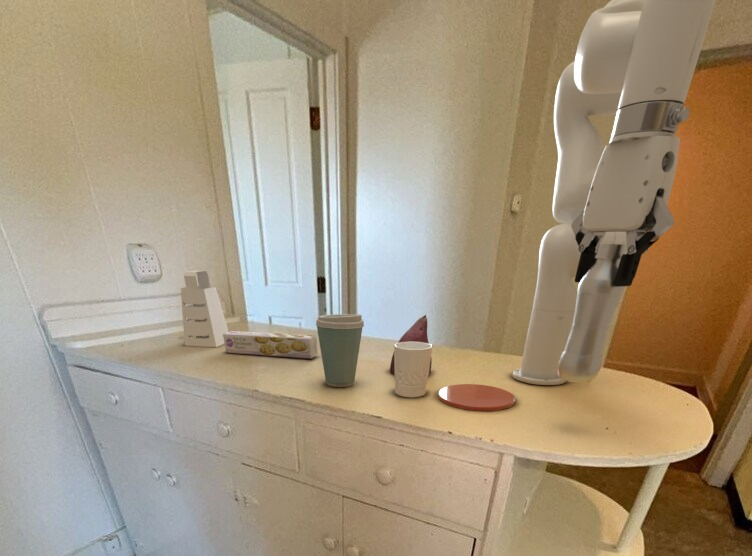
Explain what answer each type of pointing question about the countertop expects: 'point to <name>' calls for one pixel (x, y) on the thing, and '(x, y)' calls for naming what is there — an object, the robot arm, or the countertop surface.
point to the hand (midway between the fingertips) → (601, 282)
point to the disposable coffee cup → (340, 347)
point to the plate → (476, 397)
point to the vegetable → (414, 337)
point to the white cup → (411, 368)
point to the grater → (202, 312)
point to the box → (271, 344)
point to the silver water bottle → (592, 316)
